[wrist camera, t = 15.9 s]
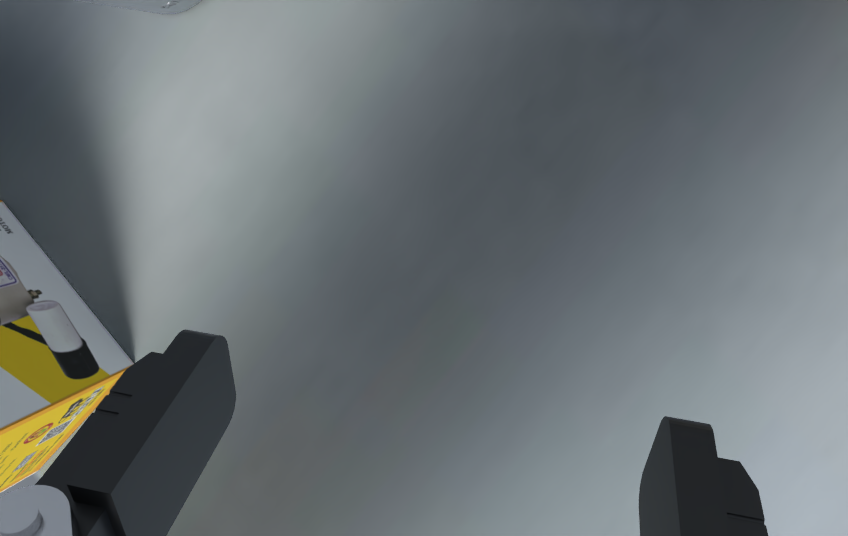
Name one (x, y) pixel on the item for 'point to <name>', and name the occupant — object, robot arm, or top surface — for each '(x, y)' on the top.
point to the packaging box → (45, 355)
